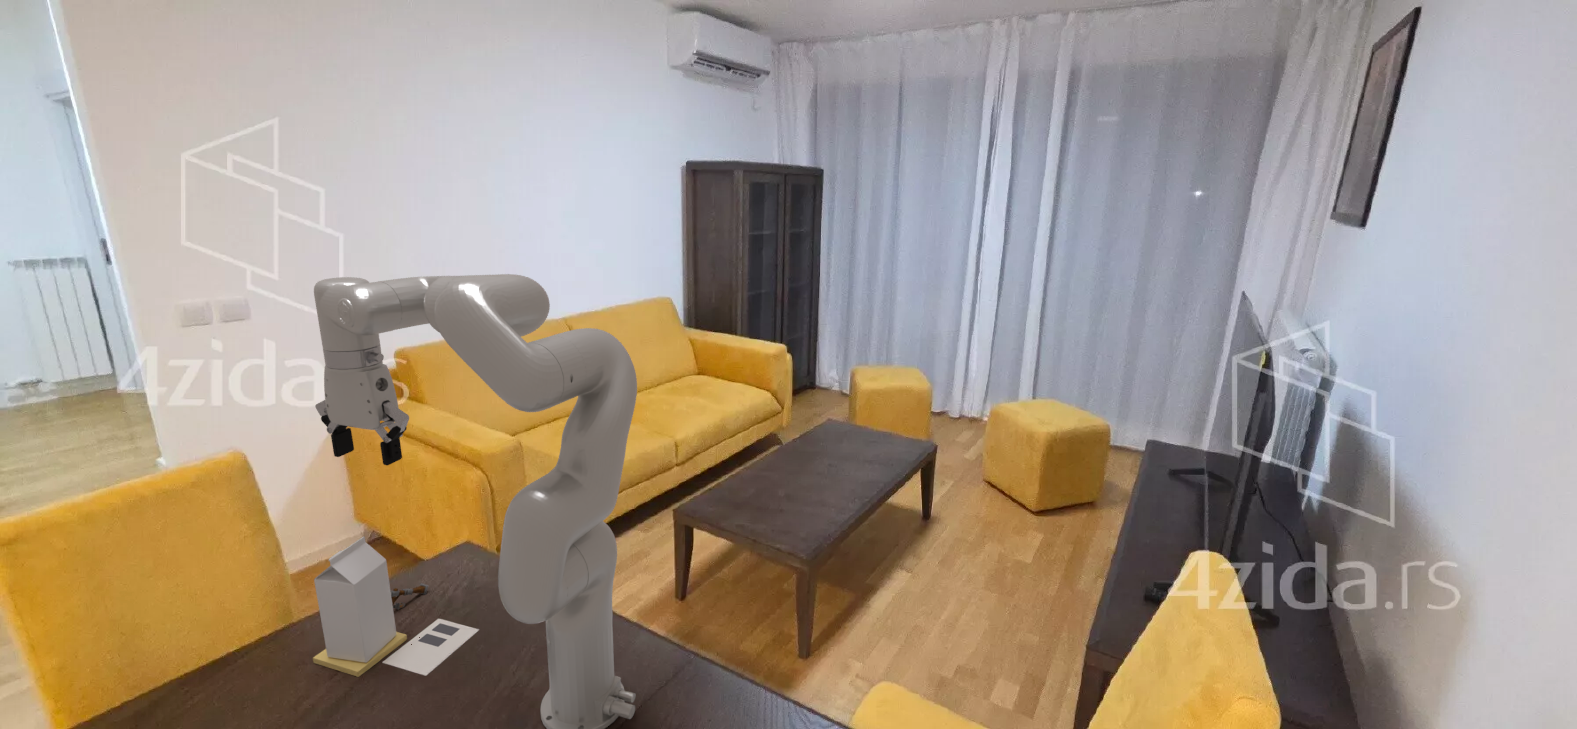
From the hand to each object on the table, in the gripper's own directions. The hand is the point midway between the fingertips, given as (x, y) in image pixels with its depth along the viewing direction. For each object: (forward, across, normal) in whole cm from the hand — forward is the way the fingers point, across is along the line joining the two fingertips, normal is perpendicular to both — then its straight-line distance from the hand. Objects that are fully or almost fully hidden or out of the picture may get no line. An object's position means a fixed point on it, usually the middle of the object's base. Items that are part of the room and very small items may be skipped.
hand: (368, 457), depth 107 cm
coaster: (+34, +1, +6) cm, 34 cm away
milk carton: (+33, +1, +6) cm, 33 cm away
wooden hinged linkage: (+34, +4, -7) cm, 35 cm away
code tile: (+34, -9, +1) cm, 35 cm away
